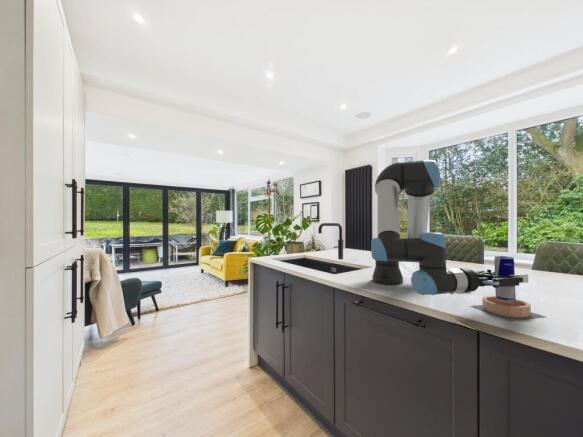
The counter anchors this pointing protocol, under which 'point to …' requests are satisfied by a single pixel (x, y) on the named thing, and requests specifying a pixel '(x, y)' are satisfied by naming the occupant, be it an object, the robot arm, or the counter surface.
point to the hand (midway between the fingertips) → (517, 276)
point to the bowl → (507, 307)
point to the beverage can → (505, 268)
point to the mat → (532, 316)
